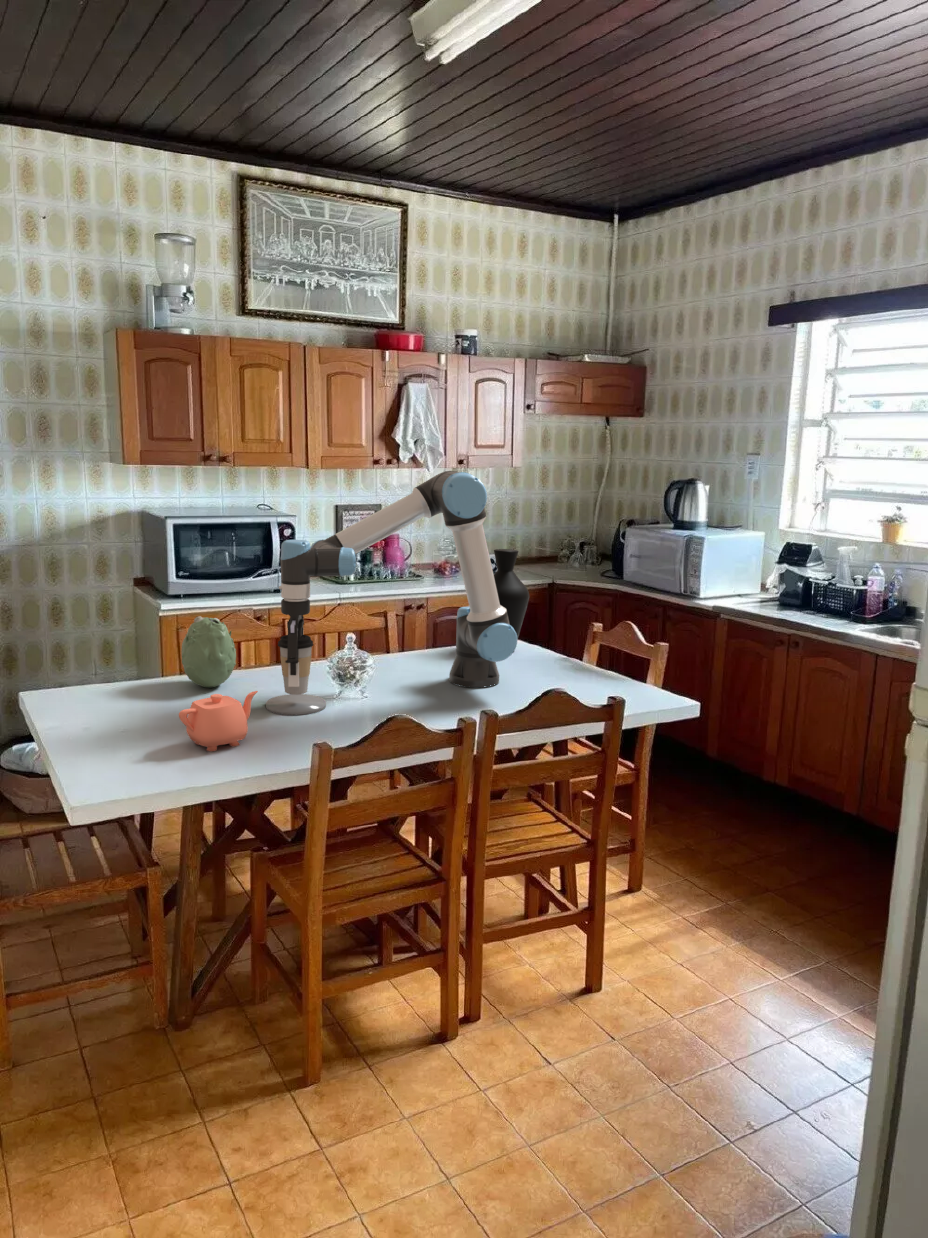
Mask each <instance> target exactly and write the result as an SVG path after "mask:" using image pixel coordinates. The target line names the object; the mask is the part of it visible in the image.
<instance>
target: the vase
mask: <svg viewBox="0 0 928 1238" xmlns="http://www.w3.org/2000/svg"><path fill="white" fill-rule="evenodd" d="M493 553H494V558H495V563H496V564H495V565H496V569H497V570H496V571H495V572H494V573H493V575H494V580H495V584H496V589H497V593H498V598H499V603H500V605H501V606H503V607H504V608H506V610H507V615H508V619H509V624H510V625H511V626H512V627H513V628H514V630H515V632H516V634H517V641H518V639H519V636H520V633H521V629H522V625H523V622H524V618H525V616H526V611H527V609H528V605H529V600H530V592H529V589H528V588H527V586H526V585H525V584H524V583H523V582H522V580H521V579H520V578H519V577H518V575H517V574H516V573H515V572H514V568H515V566H516V565H515V564H516V562H517V558H518V555H519V553H520V551H519V550H517V549H511V548H496V549H495V548H494V549H493Z"/></svg>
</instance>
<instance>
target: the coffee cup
mask: <svg viewBox="0 0 928 1238" xmlns="http://www.w3.org/2000/svg"><path fill="white" fill-rule="evenodd" d="M277 646H278V647H279V651H280V665H281V672H282V678H283V687H284V692H285V694H287V695H289V694H293V695H298V694H306V693H308V689H309V688H308V685H309V677H310V673H311V664H312V663H311V662H312V648H313V646H314V641H313V640H312V639H311V636H310V635H308V634H303V635H302V636H301V638H299V641H298V653H299V654H298V660H299V687H288V663H285V660H287V654H288V634H285V635H281V636H280V640H278V642H277ZM291 658H294V657H291Z"/></svg>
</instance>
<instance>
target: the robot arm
mask: <svg viewBox="0 0 928 1238" xmlns="http://www.w3.org/2000/svg"><path fill="white" fill-rule="evenodd" d="M487 501H488V493H487V489H486V487H485V485H484V483H483V482H482V481H481V479H479V478H478V477H476V476H475V475H473V474H471V473H469V472H464V471H461V472H460V471H455V470H446V471H445V470H444V471H441V472H440V473H438V474H436V475H434V476H433V477H431V478H428V479H427V480H425V481H424V482H422V483H421V484H419V485H417V486H415V487H413V488H412V492H411V493H410V494H408V495H406V496H403V498H400V499H398V500H397V501H394V502H392V503H391V504H389V505H387V506H385V507H383V508H382V509H380V510H378V511H376V512H374V513H372V514H370V515H368V516H366V517H365V518H363V519H360V521H357V522H356V523H353V524H352V525H350V526H347V527H345V528H343V530H341V531H338V532H337V533H335V534H333V535H331V536H329V537H327V538H326V539H319V540H316V541H314V542H313V543H312V545H311V543H310V541H309V540H306V539H287V540H283V542H282V543H281V545H280V546H281V550H280V584H281V585H280V586H278V589H279V590H281V594H280V596H281V598H282V599H281V600H280V611H281V614H283V615H286V616H289V618H288V620H287V622H286V626H287V627H286V628H287V635H288V654H287V660H285V663H288V687H299V660H298V654H299V653H298V641H299V638H301V636H302V635H304V624H305V619H304V618H305V617H304V616H306V615H308V614H310V613H311V601H310V598H311V577H344V576H347V577H348V576H352V575H354V574H355V571H356V567H357V561H356V560H357V557H356V554H358V553H360V552H361V551H363V550H365V549H367V548H369V547H371V546H373V545H375V544H377V543H378V542H380V541H382V540H383V539H386V538H388V537H389V536H391V535H393V534H395V533H398V531H400V530H403V529H405V528H406V527H408V526H410V525H411V524H414V523H416V522H418V521H419V520H421V519H423V518H427V519H430V518H432V517H434V516H436V515H440V514H442V515H443V521H444V525H445V527H446V528H448V529H450V530H451V531H452V535H453V536H452V537H453V541H454V544H455V549H456V555H457V559H458V563H459V566H460V567H459V568H460V571H461V575H462V580H463V584H464V585H463V586H464V589H465V594H466V597H467V598H466V599H467V602H468V606H462V607H459V608H458V609H457V613H456V614H457V615H456V617H455V619H456V634H455V635H456V636H455V637H456V639H455V641H456V643H455V657H454V659H453V662H452V665H451V668H450V670H449V675H448V676H449V678H448V679H449V680H448V681H449V682H450V683H451V684H452V685H455V686H459V685H460V686H459V687H464V686H465V687H466V688H474V687H481V688H485V687H484V686H490V685H494V684H496V685H498V684H499V683H500V672H499V669H498V665H497V662H498V663H499V662H502V661H505V660H507V659H508V658H509V657H511V655H513V653H515V650H516V649H517V647H518V646H517V645H518V640H517V634H516V632H515V630H514V628H513V627H512V626H511V625H510V624H509V619H508V615H507V610H506V608H504V607H503V606H501V605H500V603H499V598H498V593H497V589H496V584H495V580H494V572H493V566H492V562H491V556H490V554H489V547H488V544H487V538H486V534H485V529H484V525H483V524H484V522H485V521H486V519H487V513H486V508H485V507H486V506H487ZM291 657H294V658H291ZM494 686H495V685H494ZM465 687H464V688H465ZM490 687H491V686H490Z"/></svg>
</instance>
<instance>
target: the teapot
mask: <svg viewBox="0 0 928 1238" xmlns="http://www.w3.org/2000/svg"><path fill="white" fill-rule="evenodd" d="M257 693H258V690H254V691H251V692H248V693H247V695H246V697H244V702H243V705H242V703H241V701H239V700H237V699H236V698H234V697H231V696H228V695H223V694H220V693H213V694H211V695H210V697H205V698H201V699H197V700H196V699H195V700H194V701H193V702H192V703H191V705H190V708H185V709H182V710H180V711H179V713H178V718H179V720H180V722H181V723H182V724H183V725H184V726H185V727H186V733H187V736H188V738H189V740H191V741H193V742H194V743H195V744H196V745H200V746H201V747H206V751H207V752H216V751H218V746H223V745H229V746H230V747H239V746H241V743H240V742H239V741H241V740H244V739H246V737H247V734H248V731H249V728H248V721H249V718H250V715H251V712H252V711H251V710H252V700H253V698H254V696H255V695H256V694H257Z"/></svg>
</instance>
